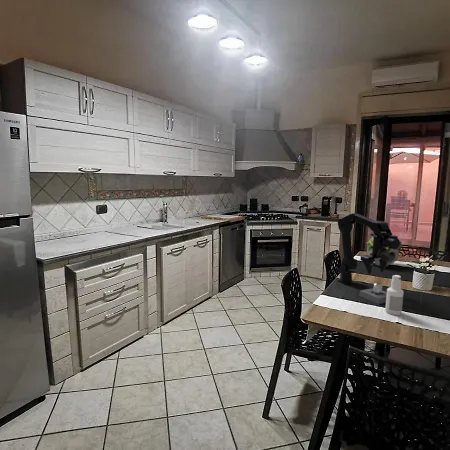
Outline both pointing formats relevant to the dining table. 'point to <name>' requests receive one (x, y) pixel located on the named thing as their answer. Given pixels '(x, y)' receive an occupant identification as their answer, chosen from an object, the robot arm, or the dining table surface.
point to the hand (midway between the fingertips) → (375, 273)
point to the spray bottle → (394, 296)
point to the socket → (374, 296)
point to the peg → (377, 288)
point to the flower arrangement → (377, 262)
